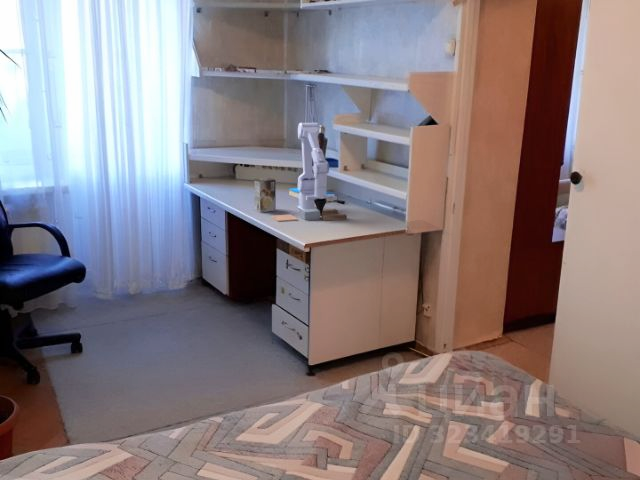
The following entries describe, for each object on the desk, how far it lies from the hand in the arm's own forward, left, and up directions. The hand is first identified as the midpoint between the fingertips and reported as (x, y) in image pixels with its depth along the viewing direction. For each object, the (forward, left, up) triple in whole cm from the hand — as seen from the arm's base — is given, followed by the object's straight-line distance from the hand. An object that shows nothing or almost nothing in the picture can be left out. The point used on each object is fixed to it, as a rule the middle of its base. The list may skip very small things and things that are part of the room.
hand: (319, 213), depth 327 cm
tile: (-2, -17, -2) cm, 18 cm away
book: (-43, +13, -2) cm, 45 cm away
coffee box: (-21, -21, -2) cm, 30 cm away
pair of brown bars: (0, +6, -2) cm, 6 cm away
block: (+1, -5, -2) cm, 6 cm away
